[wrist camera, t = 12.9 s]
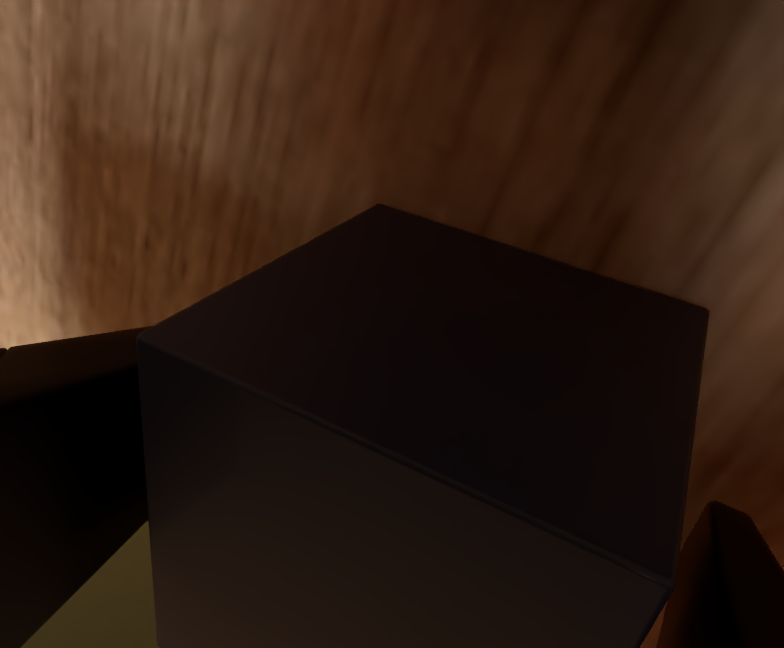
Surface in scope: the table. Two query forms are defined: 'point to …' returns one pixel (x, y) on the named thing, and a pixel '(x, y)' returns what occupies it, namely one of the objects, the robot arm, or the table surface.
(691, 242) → the table surface
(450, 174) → the table surface
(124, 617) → the sage bin
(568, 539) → the navy block
